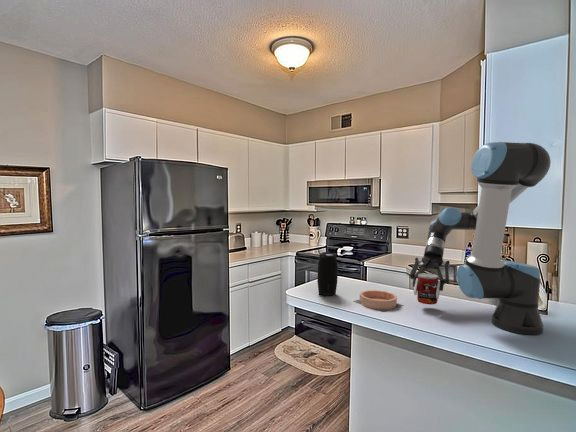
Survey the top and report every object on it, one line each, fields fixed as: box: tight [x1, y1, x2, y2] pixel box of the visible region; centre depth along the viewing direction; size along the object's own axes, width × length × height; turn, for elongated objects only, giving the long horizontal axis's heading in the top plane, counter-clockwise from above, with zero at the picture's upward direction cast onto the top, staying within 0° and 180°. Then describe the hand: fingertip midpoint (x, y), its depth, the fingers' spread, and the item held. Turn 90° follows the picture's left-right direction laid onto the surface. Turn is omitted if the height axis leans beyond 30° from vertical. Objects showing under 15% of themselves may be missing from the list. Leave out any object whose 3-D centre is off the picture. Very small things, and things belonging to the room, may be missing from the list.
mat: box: [352, 299, 404, 313], centre depth 140 cm, size 16×14×1 cm
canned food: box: [416, 272, 439, 306], centre depth 133 cm, size 8×8×11 cm
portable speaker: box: [316, 251, 339, 298], centre depth 151 cm, size 9×9×20 cm
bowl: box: [359, 289, 398, 310], centre depth 140 cm, size 15×15×4 cm
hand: (425, 294), depth 131 cm, fingers closed on canned food, 8 cm apart
